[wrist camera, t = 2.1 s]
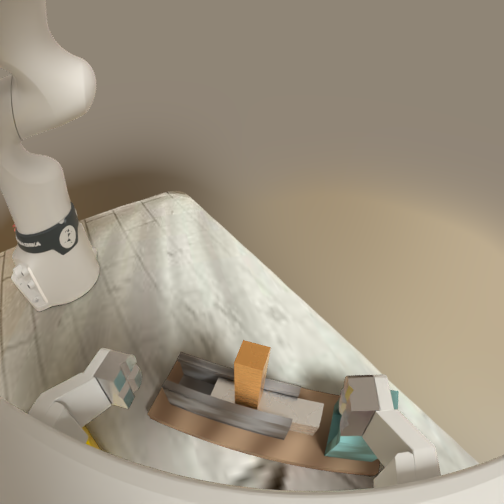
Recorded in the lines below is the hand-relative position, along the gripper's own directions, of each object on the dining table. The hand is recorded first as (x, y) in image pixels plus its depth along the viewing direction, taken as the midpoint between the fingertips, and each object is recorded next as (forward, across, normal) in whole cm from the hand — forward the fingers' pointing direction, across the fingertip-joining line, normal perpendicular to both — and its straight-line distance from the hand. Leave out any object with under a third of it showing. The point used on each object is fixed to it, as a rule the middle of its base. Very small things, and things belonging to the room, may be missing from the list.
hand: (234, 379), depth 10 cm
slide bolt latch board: (+12, -1, +24) cm, 27 cm away
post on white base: (+12, 0, +21) cm, 24 cm away
